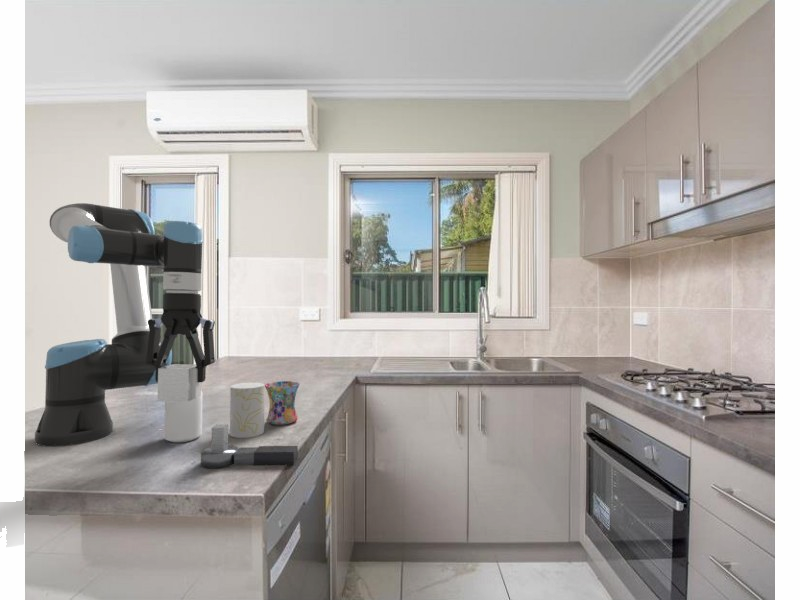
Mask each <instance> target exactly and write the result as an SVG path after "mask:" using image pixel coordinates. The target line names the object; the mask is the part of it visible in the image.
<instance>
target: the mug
mask: <svg viewBox="0 0 800 600" xmlns="http://www.w3.org/2000/svg"><path fill="white" fill-rule="evenodd" d="M300 384H301V383H300V382H298V381H295V380H294V381H291V380H288V381H287V380H279V381H278V380H277V381H271V382H268V383H267V382H266V383H265V384H264V388H265V389H266V392H267V396H268V400H269V411H268V415H267V417H266V419H265V421H266V422H267V423H268V424H271V425H274V426H275V425H276V426H280V425H288V424H292V423H294V422H296V421H298V419H299V417H298V414H297V412H296V407H295V405H296V403H295V402H296V397H297V392H298V389H299V386H300Z"/></svg>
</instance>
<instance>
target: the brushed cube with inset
mask: <svg viewBox="0 0 800 600" xmlns="http://www.w3.org/2000/svg"><path fill="white" fill-rule="evenodd" d="M195 367H196V364H184V363H183V364H181V363H180V364H179V363H177V364H175V363H173V364H172V363H171V365H169V366H165V367H162V368H158V383H157V402H164V403H165V402H189V401H191V400H193V399H195V398H192V387H193V368H195Z"/></svg>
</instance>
